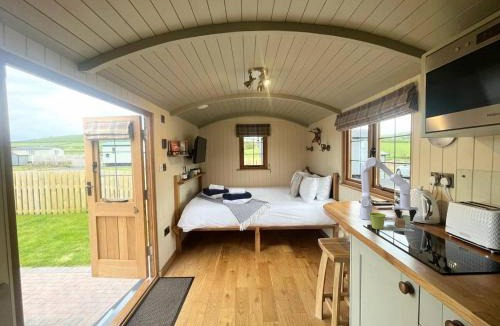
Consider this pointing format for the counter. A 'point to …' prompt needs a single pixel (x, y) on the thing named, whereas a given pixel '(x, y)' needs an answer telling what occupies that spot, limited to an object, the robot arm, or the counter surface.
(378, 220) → the plant pot
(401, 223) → the walnut block
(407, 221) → the sage block
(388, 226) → the board
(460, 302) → the counter surface
